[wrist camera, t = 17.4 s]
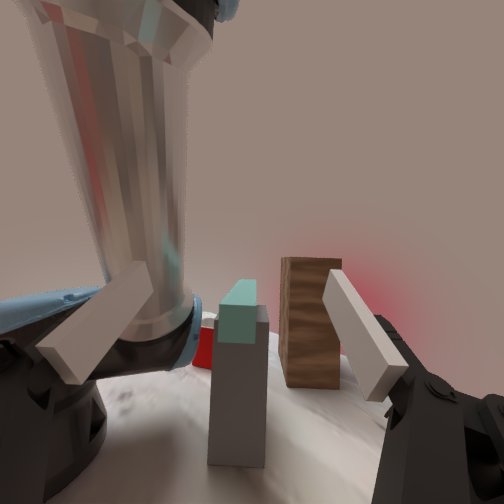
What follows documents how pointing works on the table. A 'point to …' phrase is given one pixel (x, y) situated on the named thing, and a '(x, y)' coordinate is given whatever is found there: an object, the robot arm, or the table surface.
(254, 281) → the bar
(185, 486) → the table surface
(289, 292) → the stand
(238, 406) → the block
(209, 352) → the mug
